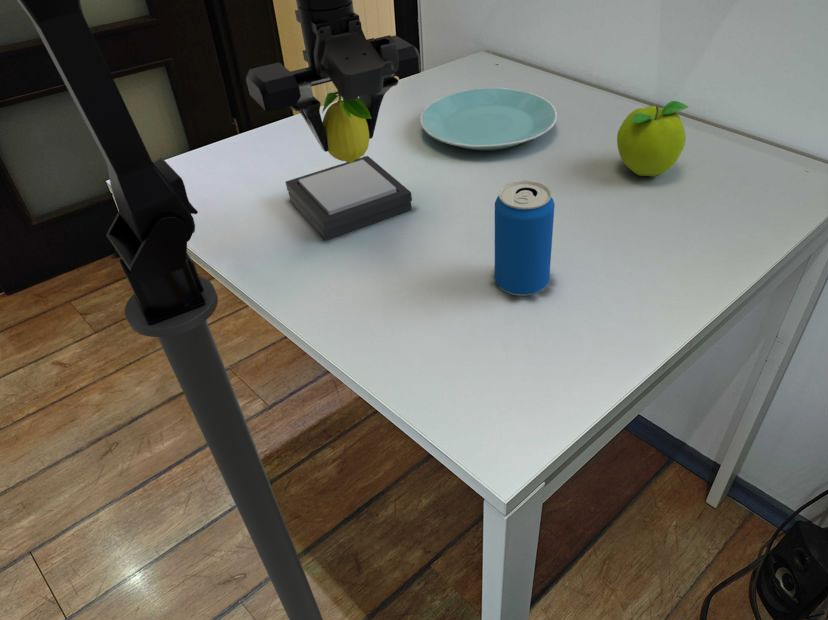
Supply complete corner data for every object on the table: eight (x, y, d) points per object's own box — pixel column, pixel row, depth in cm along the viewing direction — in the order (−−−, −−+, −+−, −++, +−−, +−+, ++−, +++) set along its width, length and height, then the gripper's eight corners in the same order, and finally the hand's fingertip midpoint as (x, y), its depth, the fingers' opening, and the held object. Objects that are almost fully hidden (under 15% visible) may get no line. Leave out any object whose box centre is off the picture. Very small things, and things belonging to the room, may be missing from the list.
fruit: (691, 179, 96) (706, 112, 89) (634, 192, 94) (645, 124, 87) (656, 152, 102) (668, 87, 96) (602, 163, 100) (610, 97, 93)
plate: (397, 149, 105) (395, 132, 103) (453, 95, 120) (452, 79, 118) (530, 172, 99) (531, 155, 97) (572, 112, 113) (573, 95, 112)
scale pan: (330, 221, 87) (328, 211, 86) (300, 189, 93) (298, 179, 92) (397, 198, 91) (396, 187, 90) (364, 169, 97) (362, 159, 96)
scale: (327, 242, 87) (323, 222, 85) (289, 200, 95) (284, 181, 93) (413, 211, 92) (411, 191, 90) (370, 173, 100) (367, 155, 98)
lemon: (378, 173, 79) (367, 90, 73) (329, 179, 79) (313, 95, 72) (373, 147, 84) (362, 67, 77) (326, 153, 84) (311, 72, 77)
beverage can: (554, 272, 81) (561, 183, 73) (541, 304, 76) (547, 213, 68) (503, 263, 83) (504, 175, 74) (487, 294, 78) (486, 204, 70)
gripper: (265, 43, 61) (299, 195, 71) (441, 4, 67) (448, 148, 78) (227, 12, 67) (263, 155, 78) (391, -20, 74) (404, 115, 85)
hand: (347, 143), depth 80 cm, fingers closed on lemon, 5 cm apart
